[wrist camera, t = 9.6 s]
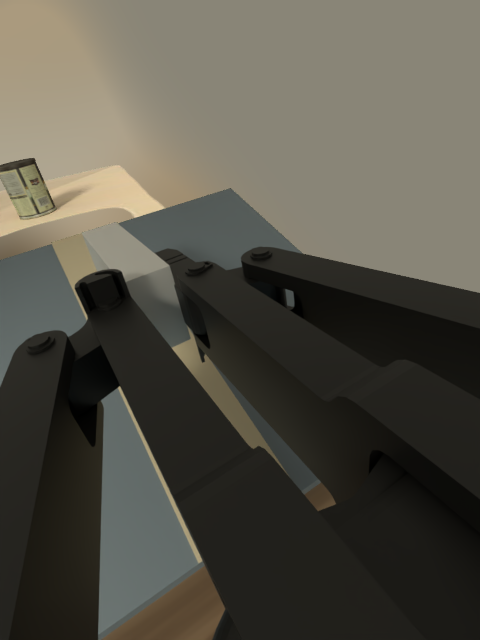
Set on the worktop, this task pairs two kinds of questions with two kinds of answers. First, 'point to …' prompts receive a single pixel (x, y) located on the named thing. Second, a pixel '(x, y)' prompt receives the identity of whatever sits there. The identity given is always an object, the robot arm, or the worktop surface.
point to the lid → (119, 422)
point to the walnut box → (191, 602)
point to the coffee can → (26, 188)
